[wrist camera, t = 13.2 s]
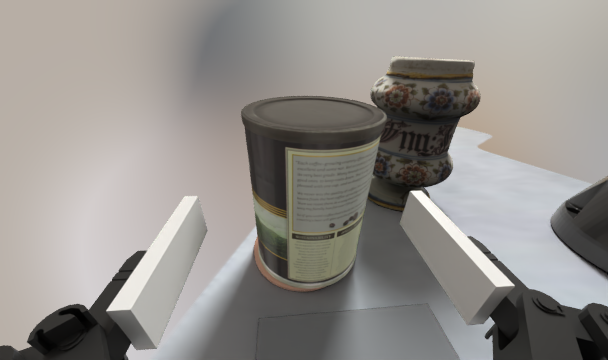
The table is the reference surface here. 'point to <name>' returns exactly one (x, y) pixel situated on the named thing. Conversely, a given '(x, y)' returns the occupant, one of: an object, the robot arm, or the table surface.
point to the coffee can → (310, 183)
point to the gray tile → (355, 335)
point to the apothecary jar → (418, 124)
